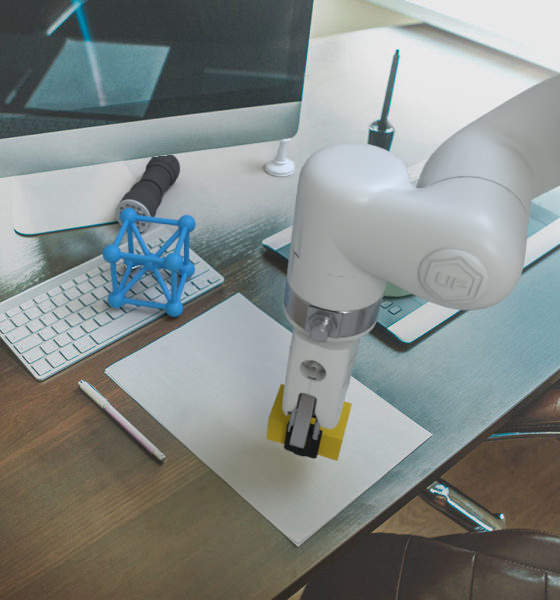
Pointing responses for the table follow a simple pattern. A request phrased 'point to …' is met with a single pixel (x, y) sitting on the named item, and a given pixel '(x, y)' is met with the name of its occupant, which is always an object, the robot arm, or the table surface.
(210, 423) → the table surface
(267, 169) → the chess piece
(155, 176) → the flashlight
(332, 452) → the sponge
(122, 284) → the molecular structure
